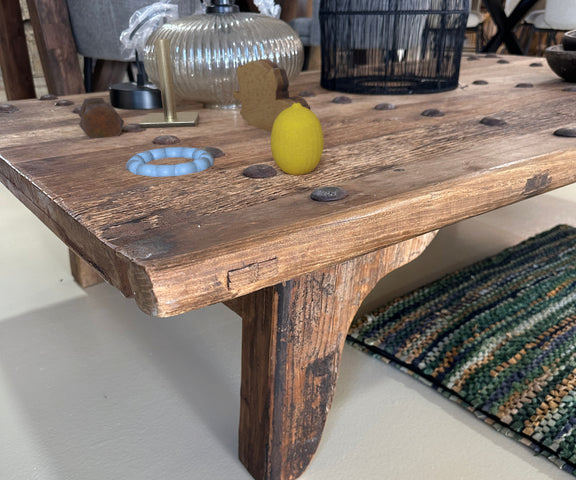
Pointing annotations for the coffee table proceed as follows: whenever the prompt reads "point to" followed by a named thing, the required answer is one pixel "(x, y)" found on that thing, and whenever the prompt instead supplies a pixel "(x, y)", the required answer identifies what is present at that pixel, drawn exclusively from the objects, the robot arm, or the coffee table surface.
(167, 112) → the post
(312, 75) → the coffee table surface
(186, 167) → the ring
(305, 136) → the lemon
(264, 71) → the wooden carving
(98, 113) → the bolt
